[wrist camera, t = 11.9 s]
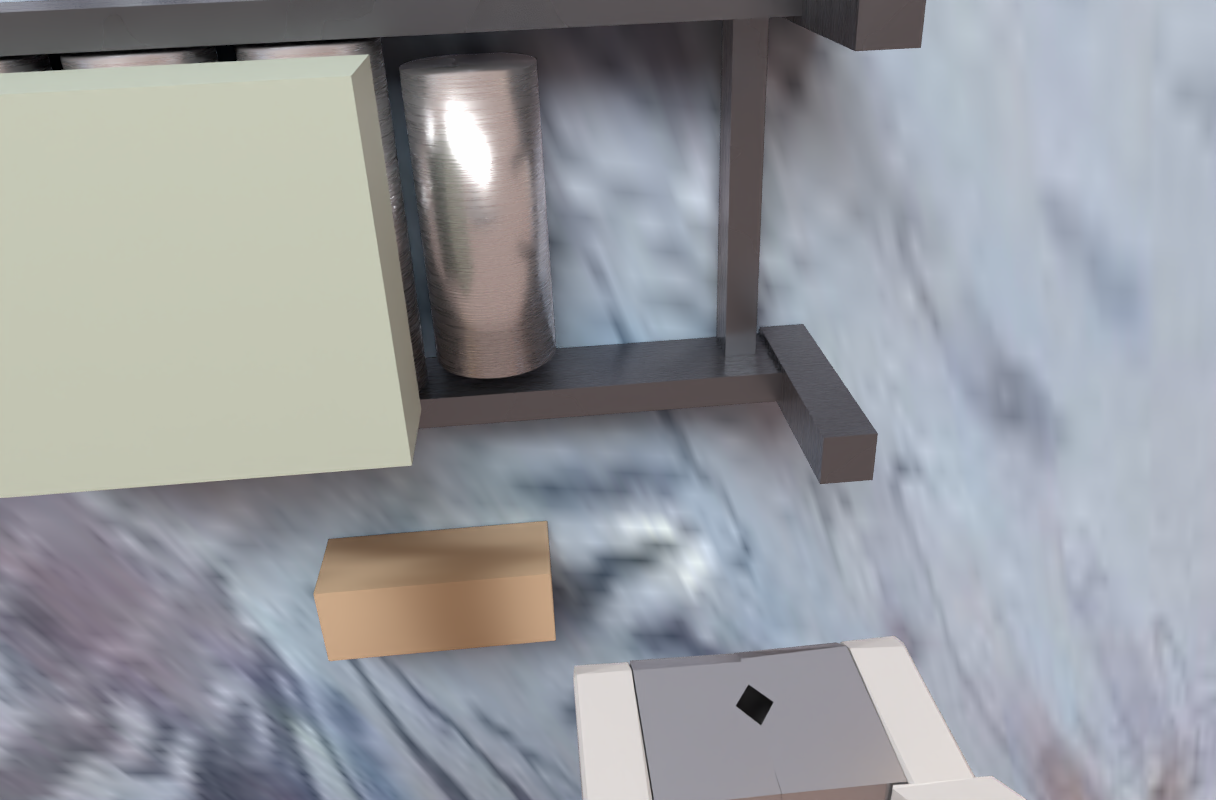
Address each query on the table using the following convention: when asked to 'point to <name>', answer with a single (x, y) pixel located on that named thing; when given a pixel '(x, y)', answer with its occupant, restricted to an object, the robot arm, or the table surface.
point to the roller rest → (436, 591)
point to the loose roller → (482, 209)
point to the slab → (198, 277)
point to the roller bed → (353, 25)
